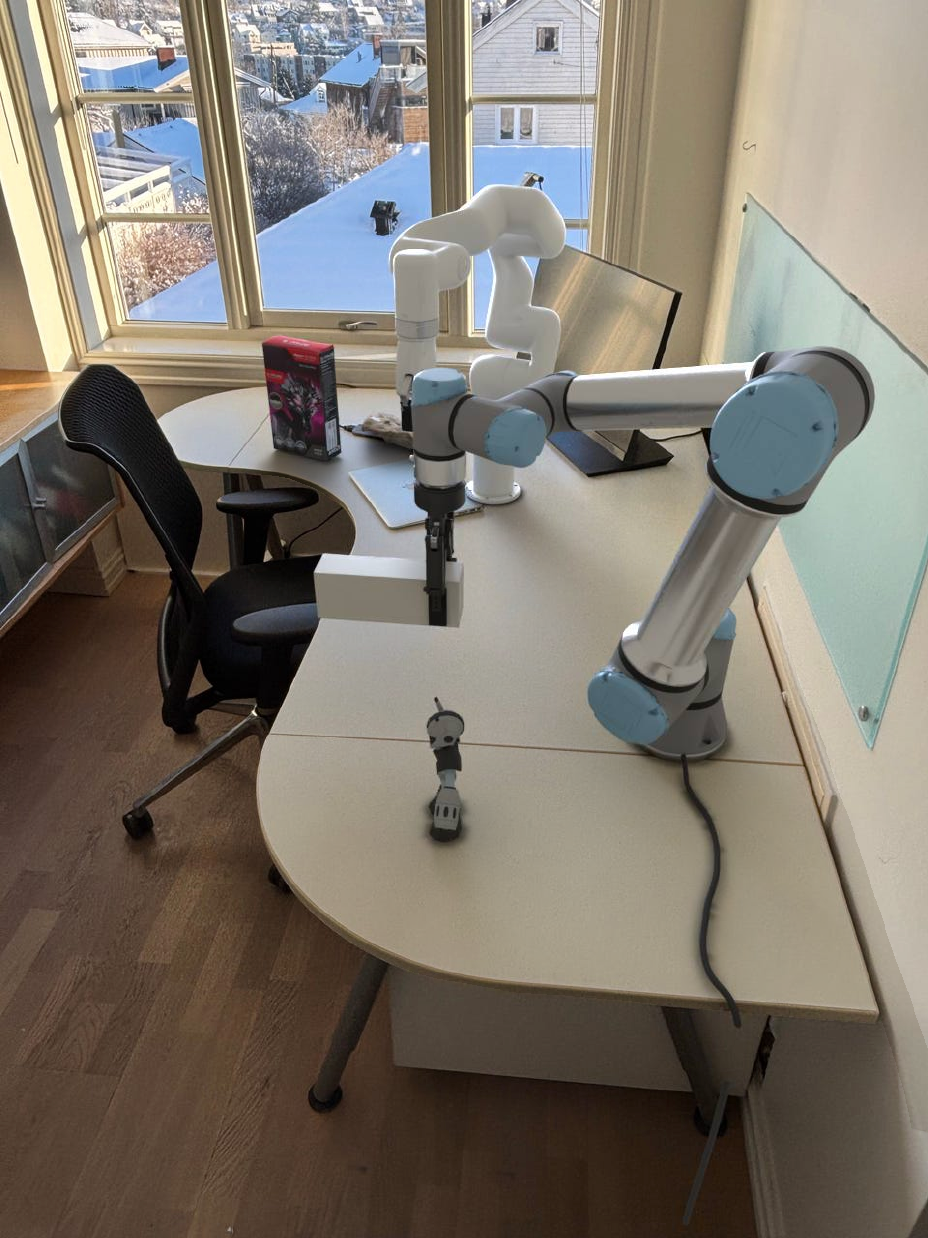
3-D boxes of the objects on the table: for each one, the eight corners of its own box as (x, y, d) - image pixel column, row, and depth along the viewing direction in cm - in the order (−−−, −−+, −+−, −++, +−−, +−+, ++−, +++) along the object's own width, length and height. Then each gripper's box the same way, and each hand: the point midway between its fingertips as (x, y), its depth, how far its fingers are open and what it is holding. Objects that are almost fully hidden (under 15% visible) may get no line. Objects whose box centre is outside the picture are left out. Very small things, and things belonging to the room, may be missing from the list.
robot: (467, 874, 119) (468, 759, 108) (429, 876, 119) (427, 760, 108) (460, 769, 135) (460, 659, 124) (426, 770, 135) (424, 660, 124)
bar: (463, 607, 148) (463, 562, 143) (459, 628, 143) (459, 582, 138) (326, 597, 150) (322, 553, 145) (317, 618, 145) (313, 572, 140)
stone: (345, 437, 230) (349, 413, 227) (367, 428, 243) (371, 405, 241) (423, 461, 226) (429, 437, 224) (441, 451, 239) (446, 428, 237)
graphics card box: (271, 449, 231) (258, 341, 215) (288, 440, 236) (276, 333, 220) (327, 463, 224) (318, 352, 209) (343, 453, 229) (336, 344, 214)
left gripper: (412, 311, 166) (414, 402, 176) (379, 339, 153) (383, 436, 162) (452, 315, 165) (451, 406, 174) (423, 343, 151) (424, 441, 160)
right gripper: (423, 450, 141) (426, 580, 153) (402, 506, 125) (407, 645, 138) (472, 453, 140) (471, 583, 153) (457, 510, 124) (457, 649, 137)
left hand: (419, 421), depth 168 cm, fingers open, 9 cm apart
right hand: (440, 612), depth 145 cm, fingers closed on bar, 6 cm apart
